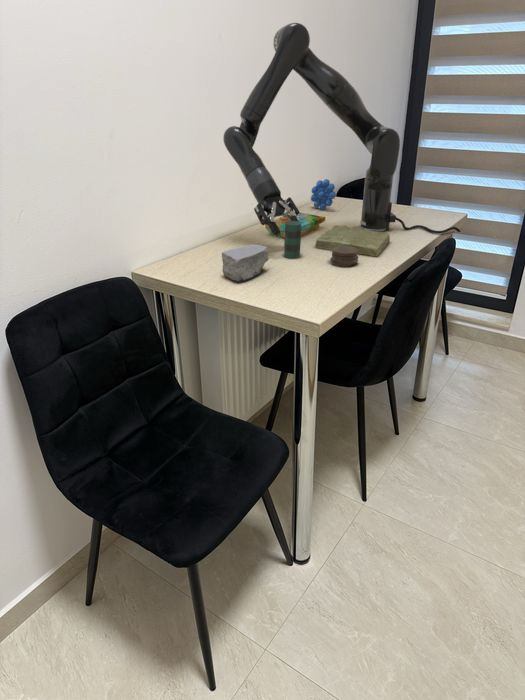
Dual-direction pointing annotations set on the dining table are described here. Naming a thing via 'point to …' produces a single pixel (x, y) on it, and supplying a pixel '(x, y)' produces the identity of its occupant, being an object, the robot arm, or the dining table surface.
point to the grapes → (323, 194)
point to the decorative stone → (244, 262)
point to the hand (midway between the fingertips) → (288, 231)
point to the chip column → (292, 239)
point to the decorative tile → (354, 239)
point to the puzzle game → (306, 220)
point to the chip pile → (344, 256)
